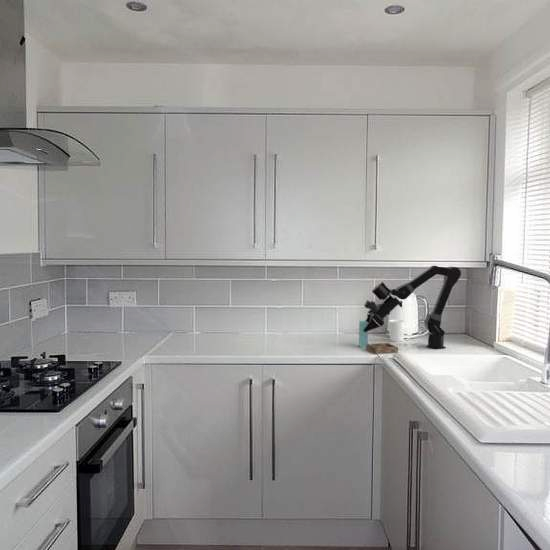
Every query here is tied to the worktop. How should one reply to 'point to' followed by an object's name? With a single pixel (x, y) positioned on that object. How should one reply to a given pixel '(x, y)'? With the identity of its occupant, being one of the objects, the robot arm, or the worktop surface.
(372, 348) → the tray
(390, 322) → the white cup
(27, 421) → the worktop surface
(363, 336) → the peg
